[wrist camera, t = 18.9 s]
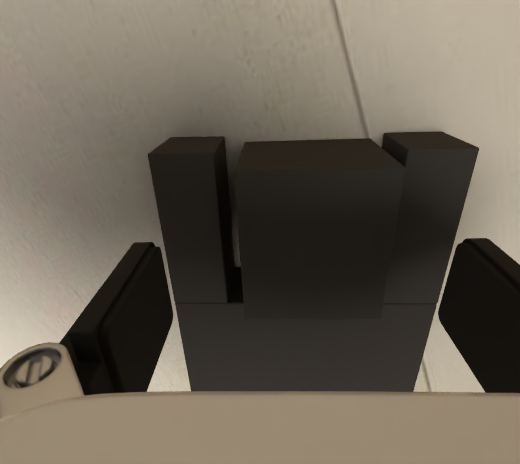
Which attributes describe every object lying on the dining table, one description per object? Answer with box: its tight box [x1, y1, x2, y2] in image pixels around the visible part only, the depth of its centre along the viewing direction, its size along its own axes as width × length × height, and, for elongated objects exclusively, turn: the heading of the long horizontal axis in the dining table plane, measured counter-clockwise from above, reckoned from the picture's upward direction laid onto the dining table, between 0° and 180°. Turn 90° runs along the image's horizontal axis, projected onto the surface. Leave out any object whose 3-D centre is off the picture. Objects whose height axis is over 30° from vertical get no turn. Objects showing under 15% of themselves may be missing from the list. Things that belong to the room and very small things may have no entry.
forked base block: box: [148, 132, 479, 392], centre depth 17 cm, size 12×16×3 cm
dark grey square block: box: [234, 139, 405, 320], centre depth 14 cm, size 6×6×4 cm
